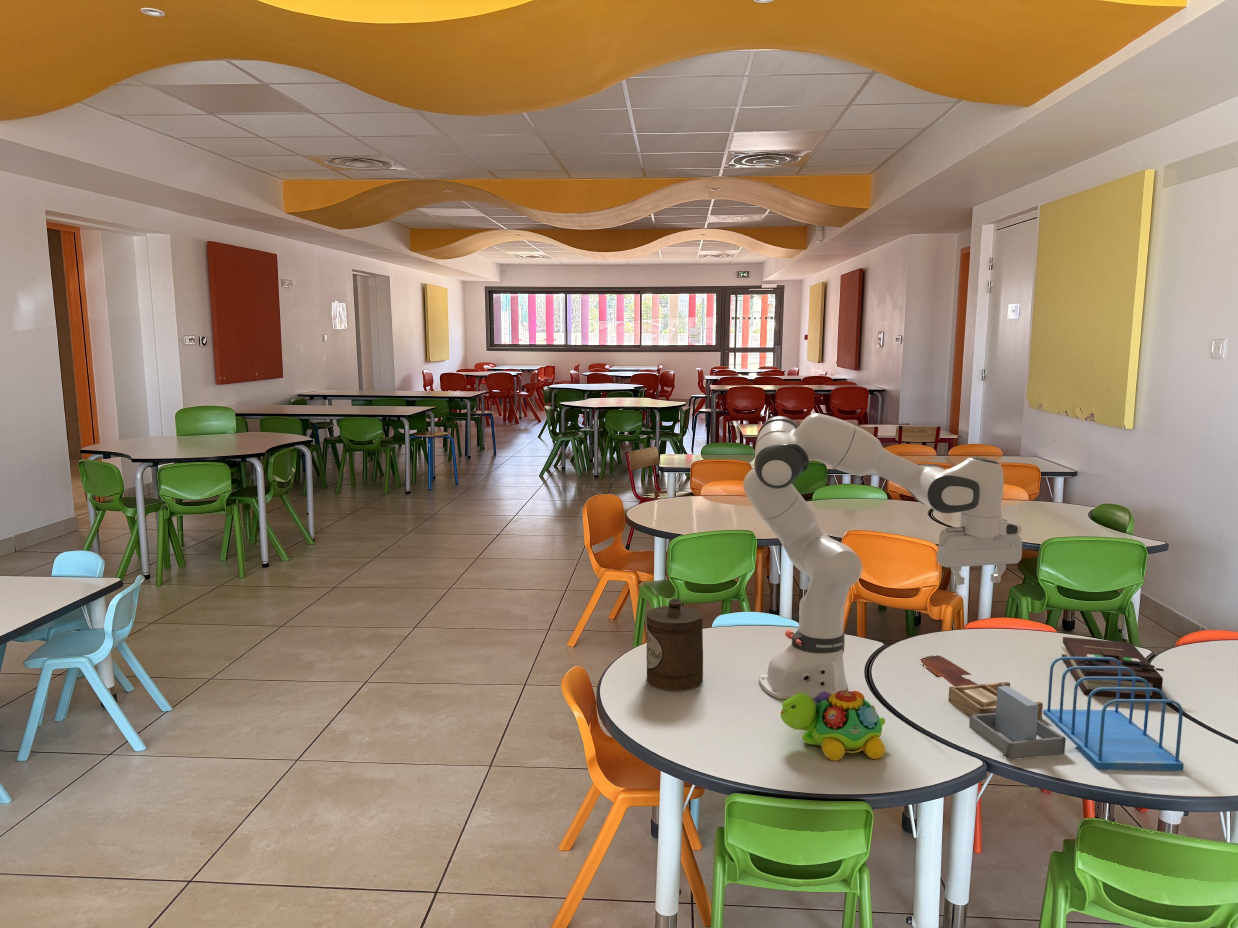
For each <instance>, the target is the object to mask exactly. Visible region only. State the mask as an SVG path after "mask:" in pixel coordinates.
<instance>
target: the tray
mask: <svg viewBox="0 0 1238 928" xmlns="http://www.w3.org/2000/svg"><path fill="white" fill-rule="evenodd" d="M995 719H996V713H986V714H975V715H970V717H969V723H968V726H969V728H970V729H972V731H974V732H976V733H977V734H978V735H979V736H981V737H982V738H983V739H985V740H986V741H987V742H989V743H990V744H991V745H993V747H996V748H997V750H999V751H1000V752H1002V753H1003V754H1002V756H1003V757H1004V756H1005V757H1006V759H1007V760H1008V759H1011V760H1018V759H1017V758H1021V759H1030V758H1037V757H1047V756H1048V757H1050V756H1057V755H1065V751H1066V740H1067V738H1066V737H1065V736H1063V735H1062V734H1060V733H1058V732H1057V731H1056V730H1054V729H1053V728H1051V727H1050V726H1048V725H1046V724H1045V723H1044V722H1042V721H1040V720H1039V719H1037V732H1036V735H1037V736H1039V737H1041V738H1036V739H1034V740H1025V741H1015V742H1014V741H1010V740H1009V739H1007V738H1005V737H1004V736H1003V735H1001V734H1000V733H999V732H998V731H996V730H994V729H993V728H992V727H995ZM1005 757H1004V758H1005Z"/></svg>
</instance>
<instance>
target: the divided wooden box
mask: <svg viewBox="0 0 1238 928" xmlns="http://www.w3.org/2000/svg"><path fill="white" fill-rule="evenodd" d="M977 684H978V685H966V686H949V687H948V702H949V703H950V704H952V705H953V706H955V707H956V708H957V709H958V710H960V711H961V712H963V713H964V714H966V716H968V717H969V718H970V715H975V714H986V713H996V706H990V707H981V706H979V705H978V704H976V703H975V702H973V701H972V700H971V699H969V698H968V697H966V696H965V695H963V692H964V690H970V689H977V688H982V689H984V690H986V691H987V692H989V693H991V694H993V695H994V696H996V697H997V687H1000V686H1009V687H1011V683H1010V682H1009V681H1004V682H991V683H990V682H989V683H977ZM1034 702H1035V703H1036V704H1038V718H1037V720H1039V719H1042V718H1043V710H1044V708H1043V706H1044V704H1043V702H1041V701H1034Z"/></svg>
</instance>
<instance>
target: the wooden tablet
mask: <svg viewBox="0 0 1238 928" xmlns="http://www.w3.org/2000/svg"><path fill="white" fill-rule="evenodd" d="M924 657H925V658H922V659H920V660H921V662H922V663H923V665H925V666H926V667H927V668H928V669H929V670H930V671H929V670H928V669H927V670H928V671H929V672H931V673H932V674H934V675H935V676H936V677H938V678H943V679H944V680H945V681H947V683H949V684H950V685H952V687H954V686H966V685H978V684H979V683H976V682H974V681H972V680H971V679H969V678H965V677H964V676H972V673H970V672H968V671H967V670H965V669H964V668H962V667H960V666H958V665H957V664H956V663H953V662H952V661H950V660H948V658H945V657H944V656H941V655H936V656H934V655H928V656H927V657H926V656H924Z"/></svg>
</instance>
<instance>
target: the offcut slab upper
mask: <svg viewBox="0 0 1238 928" xmlns="http://www.w3.org/2000/svg"><path fill="white" fill-rule="evenodd" d="M963 695H965V696H966V697H968V698H969V699H971V700H972V701H973V702H975V703H976V704H978V705H979V706H981V707H990V706H996V703H997V697H996V696H994V695H993V694H991V693H989V692H987V691H986V690H984V689H982V688H977V689H970V690H964V692H963Z"/></svg>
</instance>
